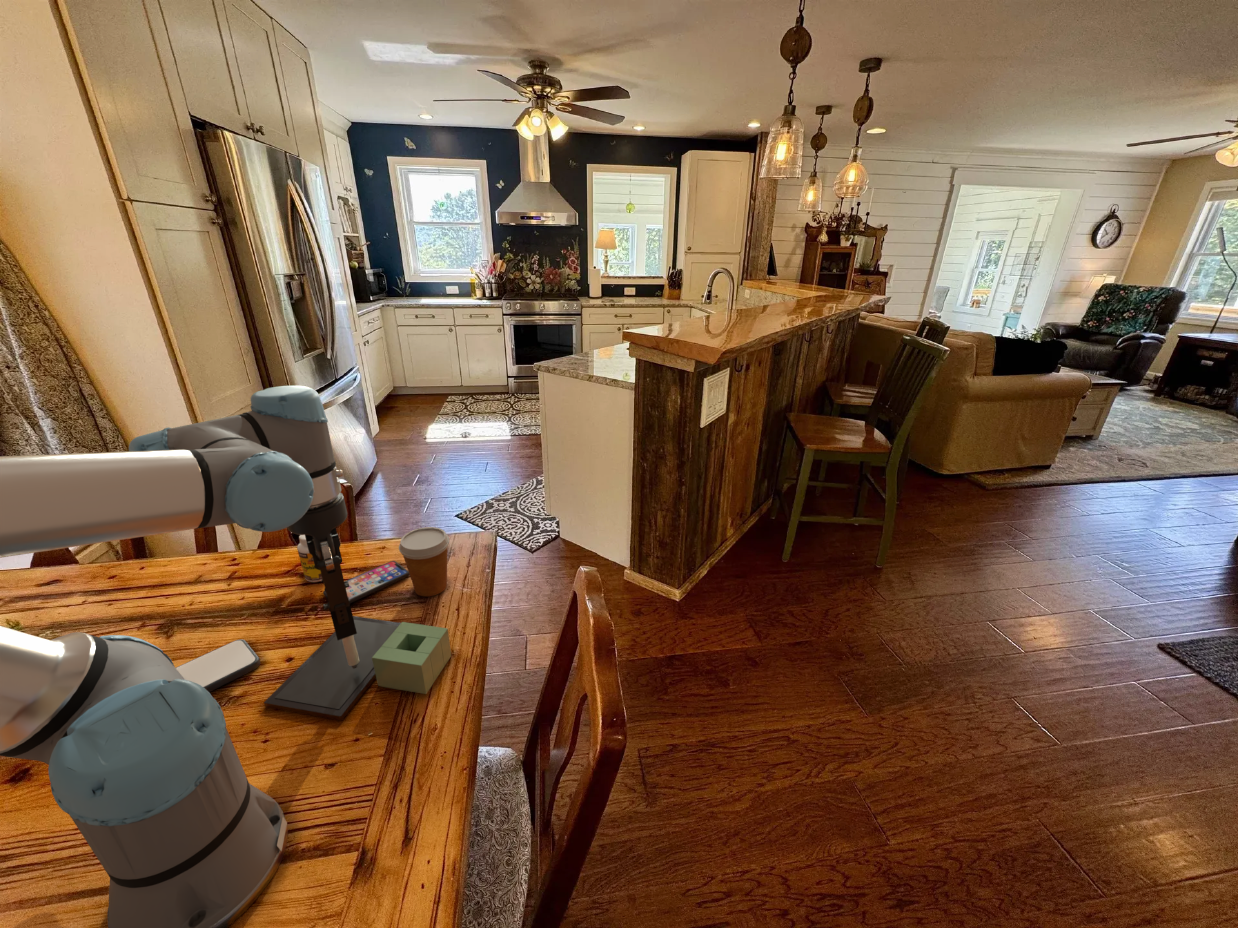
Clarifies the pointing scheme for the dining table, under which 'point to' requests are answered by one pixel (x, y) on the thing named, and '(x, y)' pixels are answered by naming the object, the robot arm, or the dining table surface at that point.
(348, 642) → the stylus
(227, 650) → the phone case
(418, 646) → the pen stand
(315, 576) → the supplement bottle
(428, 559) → the disposable coffee cup
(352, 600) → the smartphone
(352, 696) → the tablet
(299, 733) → the dining table surface
